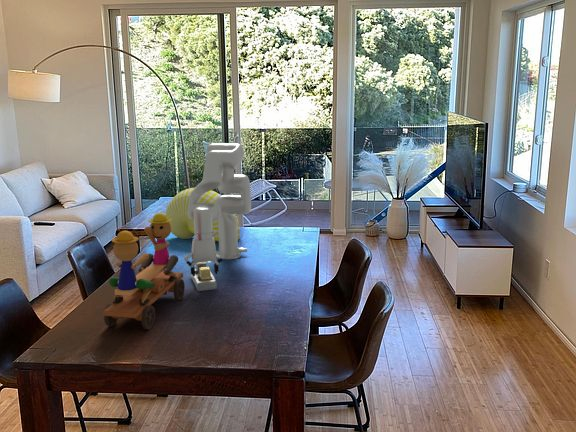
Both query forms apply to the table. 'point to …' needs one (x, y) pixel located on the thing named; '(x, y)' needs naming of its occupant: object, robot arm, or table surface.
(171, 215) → the shell
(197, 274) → the seated steel block
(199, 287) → the grey block holder tray
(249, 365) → the table surface
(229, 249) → the robot arm
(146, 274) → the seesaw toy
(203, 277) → the brass block
